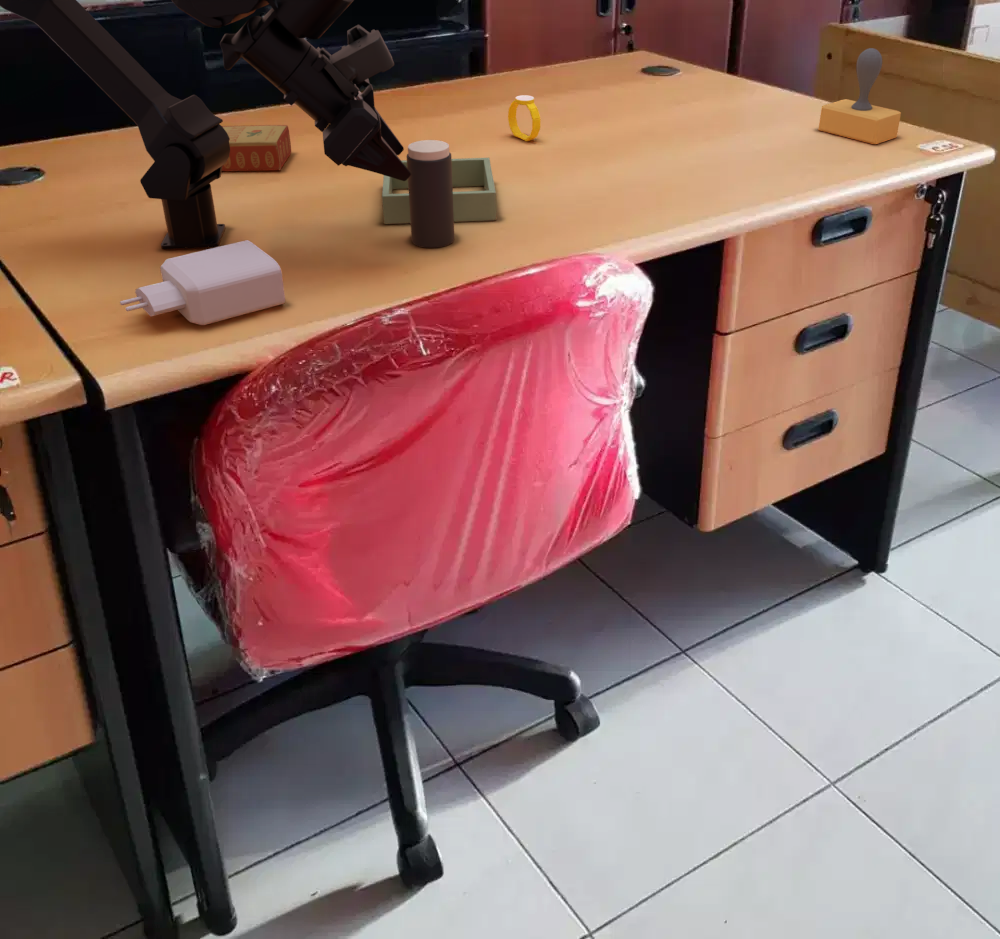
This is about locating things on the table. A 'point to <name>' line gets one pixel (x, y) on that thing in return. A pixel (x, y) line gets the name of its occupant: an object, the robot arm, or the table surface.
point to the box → (464, 202)
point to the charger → (214, 284)
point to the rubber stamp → (861, 108)
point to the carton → (257, 147)
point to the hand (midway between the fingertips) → (404, 164)
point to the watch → (535, 116)
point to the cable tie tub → (430, 193)
